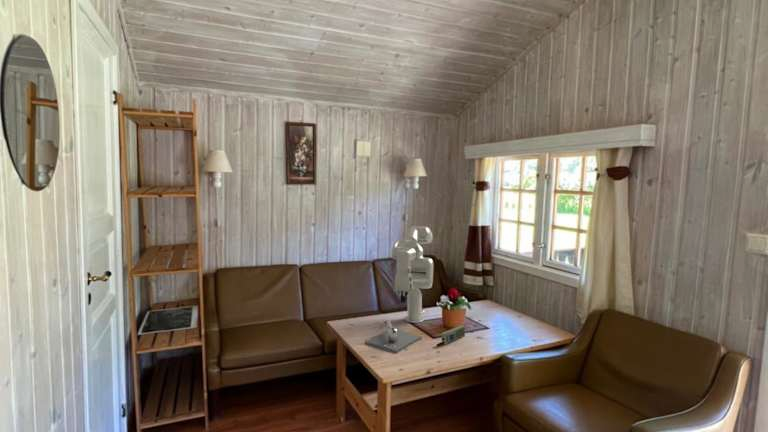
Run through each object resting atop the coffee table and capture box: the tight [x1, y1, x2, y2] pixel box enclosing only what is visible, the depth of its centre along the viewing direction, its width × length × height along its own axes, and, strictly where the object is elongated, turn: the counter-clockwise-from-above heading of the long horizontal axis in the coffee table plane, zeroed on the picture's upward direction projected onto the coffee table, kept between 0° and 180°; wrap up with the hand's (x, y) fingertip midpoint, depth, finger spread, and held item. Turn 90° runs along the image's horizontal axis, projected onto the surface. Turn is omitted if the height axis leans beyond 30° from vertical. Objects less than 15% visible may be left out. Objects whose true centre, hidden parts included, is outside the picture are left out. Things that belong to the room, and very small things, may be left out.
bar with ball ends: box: [384, 319, 398, 343], centre depth 251 cm, size 25×5×8 cm, turn 10°
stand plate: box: [364, 329, 423, 354], centre depth 250 cm, size 26×22×2 cm
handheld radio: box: [436, 324, 466, 347], centre depth 251 cm, size 7×3×25 cm
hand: (403, 302), depth 250 cm, fingers closed
